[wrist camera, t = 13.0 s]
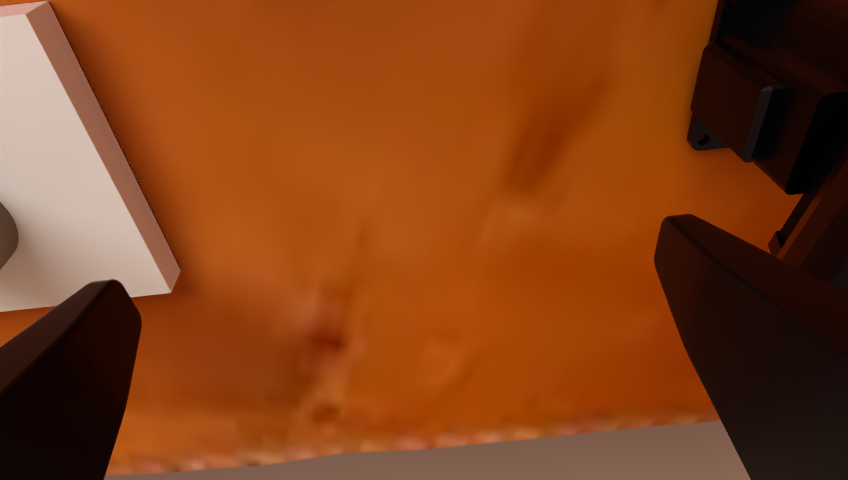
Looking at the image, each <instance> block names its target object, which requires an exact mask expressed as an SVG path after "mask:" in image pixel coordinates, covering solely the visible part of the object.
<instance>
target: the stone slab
mask: <svg viewBox="0 0 848 480" xmlns="http://www.w3.org/2000/svg"><path fill="white" fill-rule="evenodd" d="M0 202H1V203H2V204H3V205H4V207H5V208H6V209H7V210H8V212H9V213H10V214H11V216H12V218H13V220H14V222H15V224H16V227H17V230H18V245H17V248H16V250H15V252H14V254H13V255H12V256H11V257H10V259H9V260H8V261H7V262H6V264H5V265H4V266H3V267H2V268H1V270H0V312H4V311H13V310H22V309H31V308H40V307H49V306H58V305H59V304H60V303H62V302H63V301H65V300H66V299H67V298H69V297H70V296H71V295H73V294H74V293H76V292H77V291H78V290H80V289H81V288H82V287H84V286H85V285H87V284H88V283H90V282H94V281H101V280H110V279H115V280H118V281H119V282H121V283H122V284H123V286H124V287H125V289H126V291H127V293H128V294H129V296H130V297H139V296H148V295H157V294H166V293H171V292H172V290H173V288H174V285H175V283H176V281H177V278H178V276H179V274H180V271H181V270H180V268H179V266H178V264H177V262H176V260H175V258H174V256H173V254H172V252H171V250H170V248H169V246H168V244H167V242H166V239H165V237H164V235H163V233H162V231H161V229H160V227H159V225H158V223H157V221H156V219H155V217H154V215H153V213H152V211H151V209H150V207H149V205H148V203H147V201H146V199H145V197H144V195H143V193H142V191H141V189H140V187H139V185H138V183H137V181H136V178H135V176H134V174H133V172H132V170H131V168H130V166H129V164H128V162H127V160H126V158H125V156H124V154H123V152H122V150H121V148H120V146H119V144H118V142H117V140H116V138H115V136H114V134H113V132H112V130H111V128H110V126H109V124H108V122H107V120H106V117H105V115H104V113H103V111H102V109H101V107H100V105H99V103H98V101H97V99H96V97H95V95H94V93H93V91H92V89H91V87H90V85H89V83H88V81H87V79H86V77H85V75H84V73H83V71H82V69H81V67H80V65H79V63H78V61H77V59H76V56H75V54H74V52H73V50H72V48H71V46H70V44H69V42H68V40H67V38H66V36H65V34H64V32H63V30H62V28H61V26H60V24H59V22H58V20H57V18H56V16H55V14H54V12H53V10H52V8H51V6H50V4H49V2H48V1H42V2H34V3H25V4H16V5H7V6H0Z"/></svg>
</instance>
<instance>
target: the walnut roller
mask: <svg viewBox="0 0 848 480" xmlns="http://www.w3.org/2000/svg"><path fill="white" fill-rule="evenodd" d="M17 245H18V230H17V227H16V224H15V222H14V220H13V218H12V216H11V214H10V213H9V212H8V210H7V209H6V208H5V207H4V205H3V204H2V203H1V202H0V270H1V268H2V267H3V266H4V265H5V264H6V262H7V261H8V260H9V259H10V257H11V256H12V255H13V254H14V252H15V250H16V248H17Z"/></svg>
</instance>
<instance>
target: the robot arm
mask: <svg viewBox="0 0 848 480" xmlns="http://www.w3.org/2000/svg"><path fill="white" fill-rule="evenodd" d="M691 111H692V112H693V113H692V117H691V122H690V126H689V130H688V135H687V141H688V143H689V144H690V146H691V147H692V148H693V149H695V150H710V149H719V148H727V147H729V148H730V149H731V150H732V151H733V152H734V153H735V154H737V155H738V156H739V157H740V158H741V159H742V160H743V161H744V162H746V163H749V162H754V163H755V164H756V165H757V166H758V167H759V168H760V169H761V170H762V171H763V172H764V173H765V174H766V175H768V176H769V177H770V178H771V179H772V180H773V181H774V182H775V183H776V184H777V185H778V186H779V187H780V188H781V189H782V190H783V191H784V192H786V193H787V194H789V195H794V194H803V193H804V194H803V196H802V197H801V199H800V201H799V202H798V204H797V205H796V207H795V209H794V210H793V212H792V213H791V215H790V216H789V218H788V220H787V221H786V223H785V224H784V226H783V228H782V229H781V231H777V232H775V234H774V235H773V237H772V239H771V240H770V242H769V243H768V247H769V250H770V252H771V254H769V253H767V252H765V251H763V250H761V249H759V248H757V247H755V246H754V245H752V244H750V243H748V242H746V241H744V240H742V239H740V238H738V237H736V236H734V235H732V234H730V233H728V232H726V231H724V230H722V229H720V228H718V227H716V226H714V225H712V224H710V223H708V222H706V221H704V220H702V219H700V218H698V217H696V216H694V215H692V214H683V215H674V216H668V217H666V218H665V219H664V220H663V221H662V224H661V227H660V232H659V236H658V241H657V245H656V250H655V255H654V263H655V268H656V271H657V274H658V277H659V279H660V282H661V285H662V288H663V290H664V293H665V296H666V299H667V301H668V304H669V307H670V310H671V313H672V315H673V318H674V321H675V324H676V326H677V329H678V332H679V335H680V337H681V340H682V342H683V345H684V347H685V349H686V351H687V353H688V355H689V358H690V360H691V362H692V364H693V366H694V368H695V370H696V372H697V374H698V376H699V378H700V380H701V382H702V383H703V385H704V387H705V389H706V391H707V393H708V395H709V397H710V399H711V401H712V403H713V405H714V407H715V409H716V411H717V413H718V415H719V417H720V419H721V421H722V423H723V425H724V427H725V429H726V431H727V433H728V435H729V437H730V439H731V441H732V443H733V445H734V447H735V449H736V451H737V453H738V455H739V457H740V459H741V461H742V463H743V465H744V467H745V469H746V471H747V473H748V475H749V477H750V478H751V480H848V0H736V1H734V2H732V0H719V1H718V5H717V9H716V14H715V18H714V22H713V27H712V31H711V35H710V40H709V43H708V45H707V46H706V47H705V48H704V50H703V55H702V59H701V63H700V68H699V72H698V77H697V81H696V85H695V90H694V94H693V99H692V103H691ZM703 134H705V136H704V138H702V139H701V140H698V138H699V137H700V136H701V135H703ZM697 140H698V141H697ZM141 326H142V321H141V316H140V313H139V311H138V309H137V308H136V306H135V304H134V303H133V301H132V299H131V298H130V296H129V294H128V293H127V291H126V289H125V287H124V286H123V284H122V283H121V282H119V281H118V280H115V279H110V280H101V281H94V282H90V283H88V284H87V285H85V286H84V287H82V288H81V289H80V290H78V291H77V292H76V293H74V294H73V295H71V296H70V297H69V298H67V299H66V300H65V301H63V302H62V303H60V304H59V305H58V306H56V307H55V308H54V309H52V310H51V311H49V312H48V313H47V314H45V315H44V316H42V317H41V318H40V319H38V320H37V321H36V322H34V323H33V324H31V325H30V326H29V327H27V328H26V329H25V330H23V331H22V332H20V333H19V334H18V335H16V336H15V337H14V338H12V339H11V340H9V341H8V342H7V343H5V344H4V345H2V346H1V347H0V480H104V477H105V474H106V471H107V467H108V464H109V461H110V458H111V455H112V451H113V448H114V445H115V442H116V439H117V435H118V432H119V429H120V426H121V423H122V419H123V415H124V412H125V408H126V404H127V400H128V395H129V390H130V385H131V380H132V374H133V369H134V364H135V359H136V354H137V348H138V343H139V338H140V333H141Z"/></svg>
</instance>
